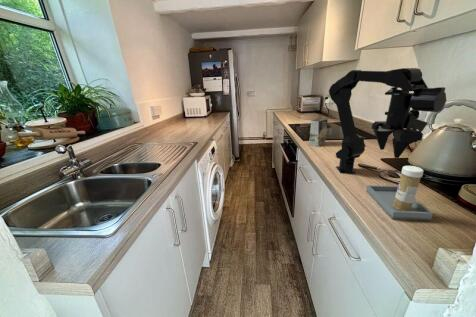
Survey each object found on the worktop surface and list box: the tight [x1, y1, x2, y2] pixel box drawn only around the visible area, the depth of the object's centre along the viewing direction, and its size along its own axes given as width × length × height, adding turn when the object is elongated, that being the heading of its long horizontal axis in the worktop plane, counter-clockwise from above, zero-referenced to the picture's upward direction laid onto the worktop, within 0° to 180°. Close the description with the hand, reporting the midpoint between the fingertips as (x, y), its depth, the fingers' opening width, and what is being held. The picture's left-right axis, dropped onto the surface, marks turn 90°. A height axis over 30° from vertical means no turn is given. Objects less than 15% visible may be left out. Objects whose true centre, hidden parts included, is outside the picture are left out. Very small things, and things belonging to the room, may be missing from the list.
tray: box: [365, 185, 434, 222], centre depth 64 cm, size 16×10×2 cm, turn 172°
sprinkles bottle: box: [393, 165, 424, 211], centre depth 58 cm, size 5×5×13 cm
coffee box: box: [308, 118, 328, 147], centre depth 127 cm, size 9×6×16 cm
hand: (388, 153), depth 71 cm, fingers open, 9 cm apart
